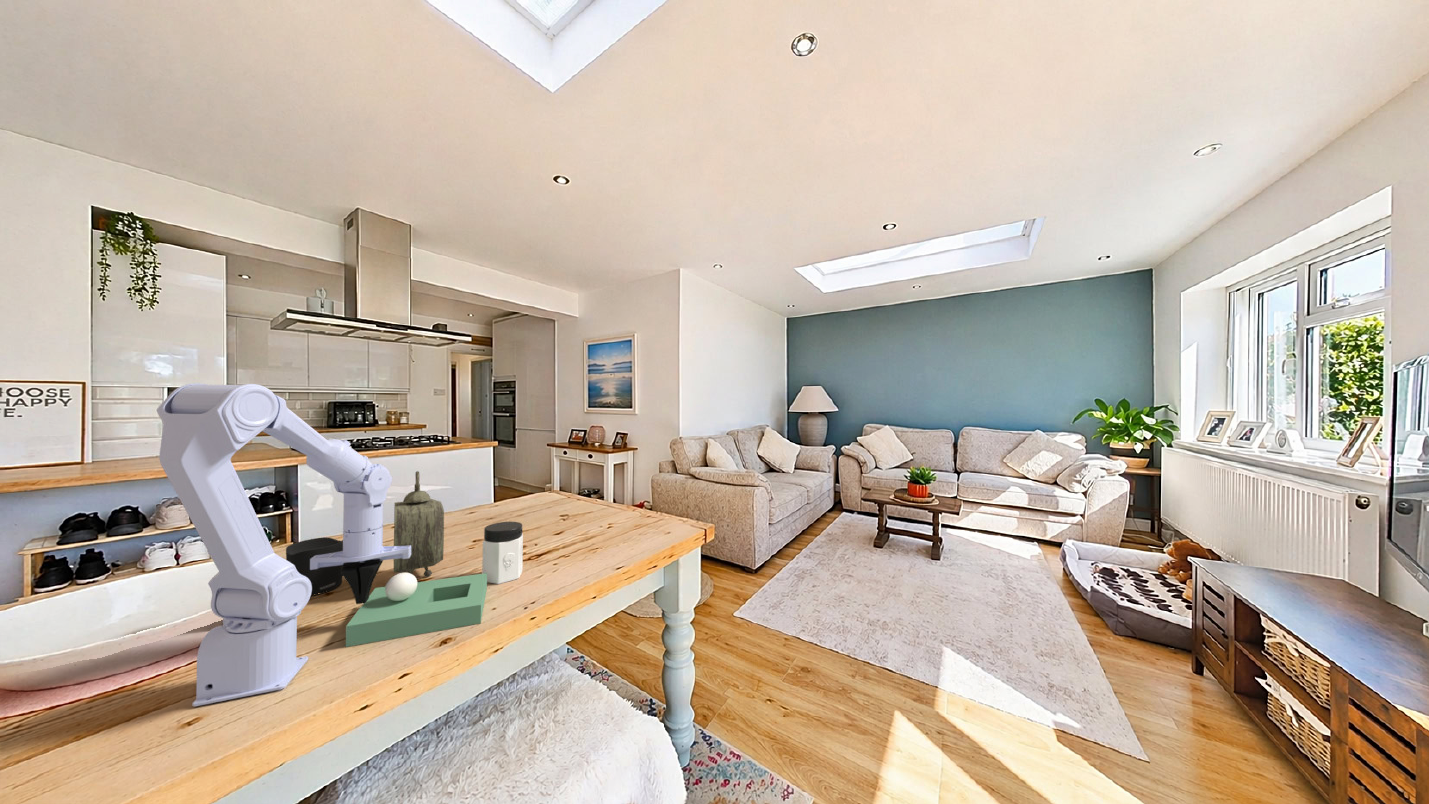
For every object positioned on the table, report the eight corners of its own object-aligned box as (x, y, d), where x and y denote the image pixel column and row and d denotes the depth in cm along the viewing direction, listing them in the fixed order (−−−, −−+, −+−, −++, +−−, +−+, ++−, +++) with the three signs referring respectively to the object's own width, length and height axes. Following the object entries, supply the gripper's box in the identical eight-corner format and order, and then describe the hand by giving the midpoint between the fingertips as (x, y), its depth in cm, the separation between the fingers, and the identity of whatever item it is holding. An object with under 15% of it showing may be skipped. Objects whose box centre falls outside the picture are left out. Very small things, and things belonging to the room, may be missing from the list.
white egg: (381, 608, 78) (381, 580, 78) (388, 596, 83) (389, 570, 83) (414, 603, 81) (414, 576, 81) (419, 592, 85) (420, 567, 85)
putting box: (345, 647, 72) (346, 626, 72) (375, 605, 87) (375, 588, 87) (480, 623, 80) (480, 604, 80) (486, 588, 95) (487, 573, 95)
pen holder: (279, 603, 87) (280, 553, 87) (292, 586, 95) (292, 541, 95) (340, 592, 92) (340, 545, 92) (347, 577, 100) (348, 534, 100)
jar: (487, 587, 96) (488, 534, 96) (477, 576, 101) (477, 526, 101) (528, 576, 102) (529, 526, 102) (516, 566, 108) (517, 519, 108)
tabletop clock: (393, 573, 103) (395, 468, 103) (438, 564, 108) (439, 466, 108) (393, 595, 91) (395, 478, 91) (443, 585, 97) (445, 474, 97)
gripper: (415, 518, 86) (414, 586, 86) (322, 526, 80) (321, 599, 80) (406, 528, 80) (405, 601, 80) (304, 537, 74) (303, 616, 74)
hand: (362, 601), depth 79 cm, fingers closed
